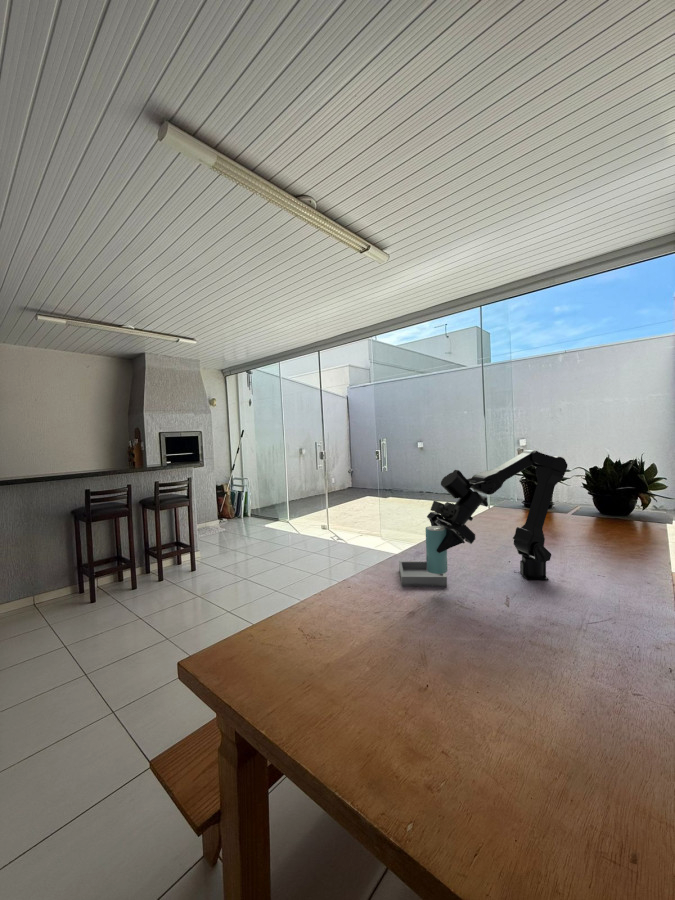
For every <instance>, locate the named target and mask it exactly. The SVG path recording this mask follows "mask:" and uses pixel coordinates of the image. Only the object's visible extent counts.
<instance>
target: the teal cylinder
mask: <svg viewBox="0 0 675 900" xmlns="http://www.w3.org/2000/svg"><path fill="white" fill-rule="evenodd" d="M445 536H446V528H445V527H442V526H431V525H429V526H426V527H425V551H426V552H425V556H426V557H425V559H426V563H427V571H428V572H430V573H434V574H443V573H445V574H446V573H448V549H447V550H445V551H443V552H441V553H438V552H437V551H436V550H437V548H438V547H439V545H440V544H441V542H442V541H443V539H444V538H445Z"/></svg>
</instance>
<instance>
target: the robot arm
mask: <svg viewBox="0 0 675 900" xmlns="http://www.w3.org/2000/svg"><path fill="white" fill-rule="evenodd" d="M531 466H532V467H534V468H535V475H536V478H537V479H536V480H537V484H536V486H535V490H534V493H533V496H532V500H531V503H530V507H529V510H528V514H527V516H526V520H525V523H524V525H522V526H521V527H519V526H516V528H515V533H514V536H513V537H512V539H513V545H514V548H515V549H516V550H517V554H518V555H521V560H520V561H519V567H520V568H519V573H520V574H521V575H522V576H523V577H524V579H526V580H528V581H532V580H533V581H536V580H537V581H548V580H549V577H548V576H547V562H550V561H551V558H552V553H551V552H550V551H549V550H548V548H546V546H545V542H546V538H545V534H544V531H543V528H544V524H545V521H546V518H547V514H548V510H549V507H550V504H551V501H552V496H553V495H554V490H555V487H556V485H558V484H559V482H560V481H561V480H563V478H564V476H565V474H566V472H567V469H568V463H567V460H566V459H565V458H564V457H562V456H557V455H556V456H554V455H548V454H546V453H542V452H540V451H538V450H534V449H533V450H529V449H525V450H523V451H521V453H519V454H517V455H516V456H515V457H513V458H511V459H509V460H508V461H506V462H503V463H502V464H500V465H499V466H496V467H495V468H492V469H490V470H484V471H481V472H477V473H475V474H474V475H472V477H470V478H469V477H468V478H466V477H465V476H464V474H463V472H461V471H460V470H459V469H454V470H453V472H450V473H448V474H447V475H445V476H444V477H442V480H441V481H440V486H441V487H442V488H443V489H444V490H445V491H446V492H447V493H448V494H449V495H451V497H452V498H453V499H458V500H457V501H456V502H455V504H454V503H453V502H449V501H447V502H445V503H442V502H439V501H436V500H433V501H432V505H431V507H430V512H429V513H428V514H427V516H426V518H427V519H428V520H429V522H430V526H442V527H445V528H446V536H445V538H444V539H443V541H442V542H441V544H440V545H439V547H438V548H437V550H436V551H437V552H438V553H441V552H443V551H445V550H447V551H448V550H449V549H451V548H453V547H456V546H459V545H461V544H465V543H468V544H470V545H472V544H473V543H474V542H475V541H476V533H475V532H473V531H472V530H471V529H470V528H469V527H468V526H467V525H466V524H467V522H468V521H470V522H472V521H473V519H474V517H472V516H473V515H474V513H475V512H476V511H477V509H479V507H480V506H481V507H485V508H487V507H488V506H489V505H488V503H489V502H488V497H485V496H482V495H481V494H485V495H491V496H492V495H493V494H495V493H497V491H498V490H500V489H501V488H502V486H503V485H504V483H505V482H506V481H507V480H508V479H511V478H512V477H514V476H515V475H517V474H519V473H521V472H523V471H524V470H525V469H528V468H529V467H531ZM480 493H481V494H480Z"/></svg>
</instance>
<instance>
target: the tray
mask: <svg viewBox="0 0 675 900" xmlns="http://www.w3.org/2000/svg"><path fill="white" fill-rule="evenodd" d="M398 565H399V566H398V569H399V575H400V576H399V577H400V582H401V583H400V584H401V587H440V586H447V587H448V578H447V577H448V576H447V574H446V573H443V574H434V573H430V572H428V571H427V563H426V561H424V560H423V561H421V560H420V561H418V560H417V561H416V560H414V561H412V560H407V561H406V560H405V561H402V560H401V561H400V560H399V561H398Z"/></svg>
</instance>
